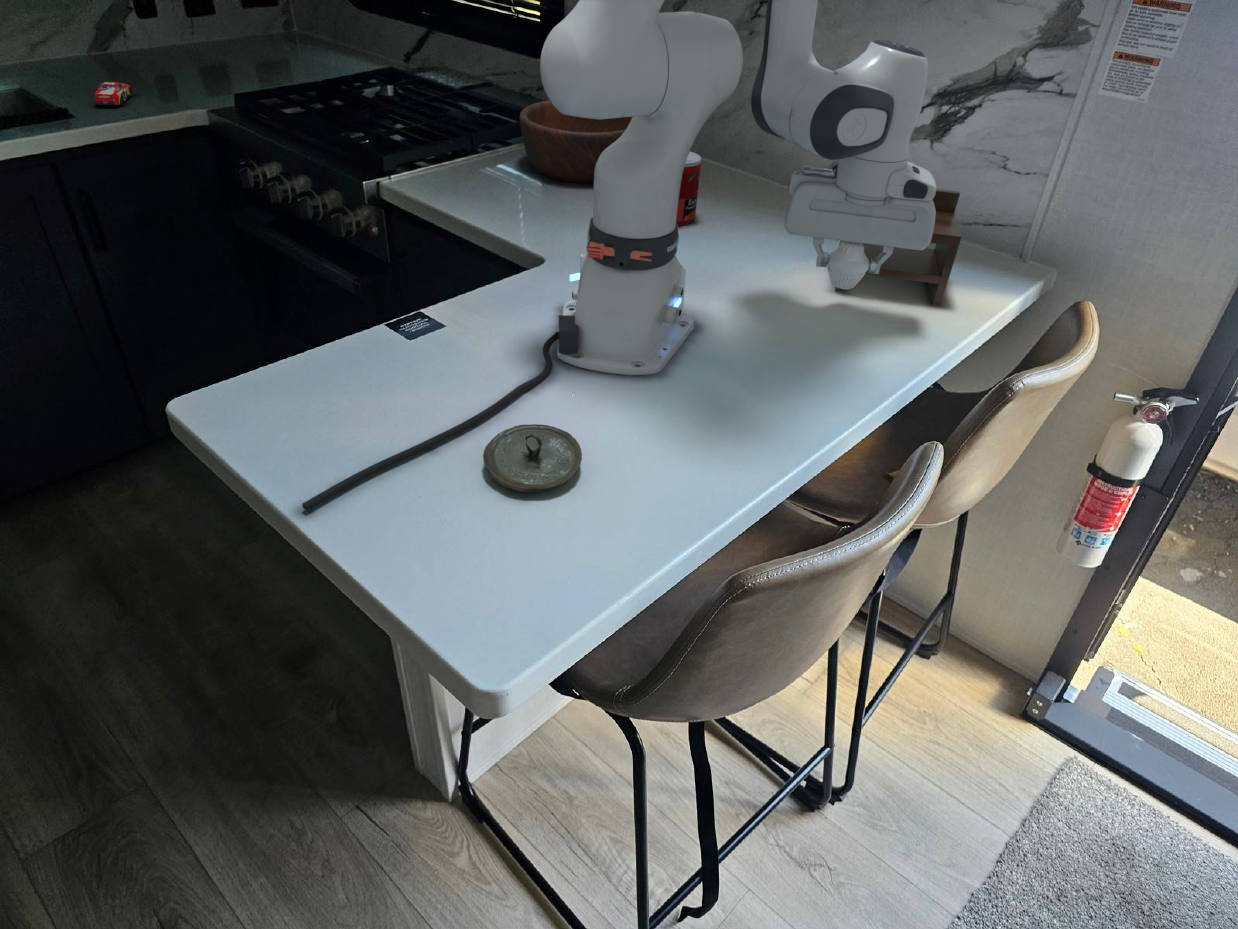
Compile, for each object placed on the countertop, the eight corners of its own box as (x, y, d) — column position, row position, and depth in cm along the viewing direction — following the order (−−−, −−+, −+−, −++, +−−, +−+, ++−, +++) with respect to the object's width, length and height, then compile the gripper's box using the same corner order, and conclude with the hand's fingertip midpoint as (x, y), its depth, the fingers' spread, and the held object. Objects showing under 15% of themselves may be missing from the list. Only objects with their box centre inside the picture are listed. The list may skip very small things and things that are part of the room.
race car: (111, 93, 198) (106, 74, 195) (136, 93, 199) (131, 75, 196) (93, 108, 187) (87, 89, 185) (119, 108, 188) (114, 89, 186)
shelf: (940, 305, 130) (967, 216, 121) (834, 291, 132) (854, 202, 124) (934, 276, 138) (959, 191, 130) (835, 263, 141) (853, 178, 132)
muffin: (813, 283, 125) (823, 237, 120) (835, 271, 128) (846, 227, 124) (850, 298, 121) (861, 252, 117) (872, 285, 125) (883, 240, 121)
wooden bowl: (601, 198, 159) (603, 142, 153) (495, 169, 169) (493, 115, 163) (665, 165, 176) (670, 113, 170) (566, 141, 186) (567, 91, 180)
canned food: (692, 228, 150) (698, 165, 143) (647, 222, 151) (652, 159, 144) (697, 213, 156) (704, 151, 149) (654, 207, 157) (659, 146, 150)
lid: (561, 445, 98) (555, 405, 96) (600, 475, 90) (594, 432, 88) (475, 472, 94) (467, 431, 92) (507, 505, 86) (499, 461, 84)
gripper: (792, 171, 113) (774, 268, 122) (949, 190, 111) (920, 287, 120) (792, 157, 118) (776, 251, 127) (943, 174, 116) (915, 268, 125)
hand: (847, 268), depth 123 cm, fingers closed on muffin, 6 cm apart
